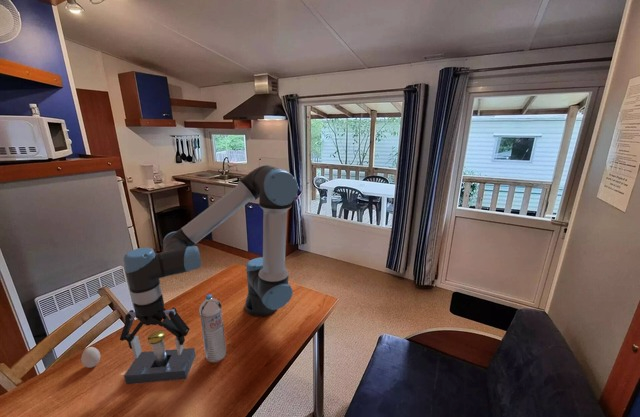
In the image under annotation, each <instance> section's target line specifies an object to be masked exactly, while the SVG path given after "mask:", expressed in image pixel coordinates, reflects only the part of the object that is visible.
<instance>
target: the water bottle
mask: <svg viewBox="0 0 640 417" xmlns="http://www.w3.org/2000/svg"><path fill="white" fill-rule="evenodd" d="M198 308H199V309H198V311H199V312H198V313H199V317H200V322H201V332H202V333H201V334H202V338H203V346H204V353H205V358H206V359H205V360H206V361H207V362H209V363H212V364H213V363H214V364H215V363H219V362H220V361H222V360H223V359H224V358H225V357H226V356H227V355H226V354H227V346H226V345H227V344H226V338H225V337H226V336H225V327H224V322H223V313H222V312H223V311H222V303H221V301H219V300H218V299H216V298H214V297H213V295H212V294H207V295H205V300H203V301H202V303H201V304H200V306H199V307H198Z"/></svg>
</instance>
